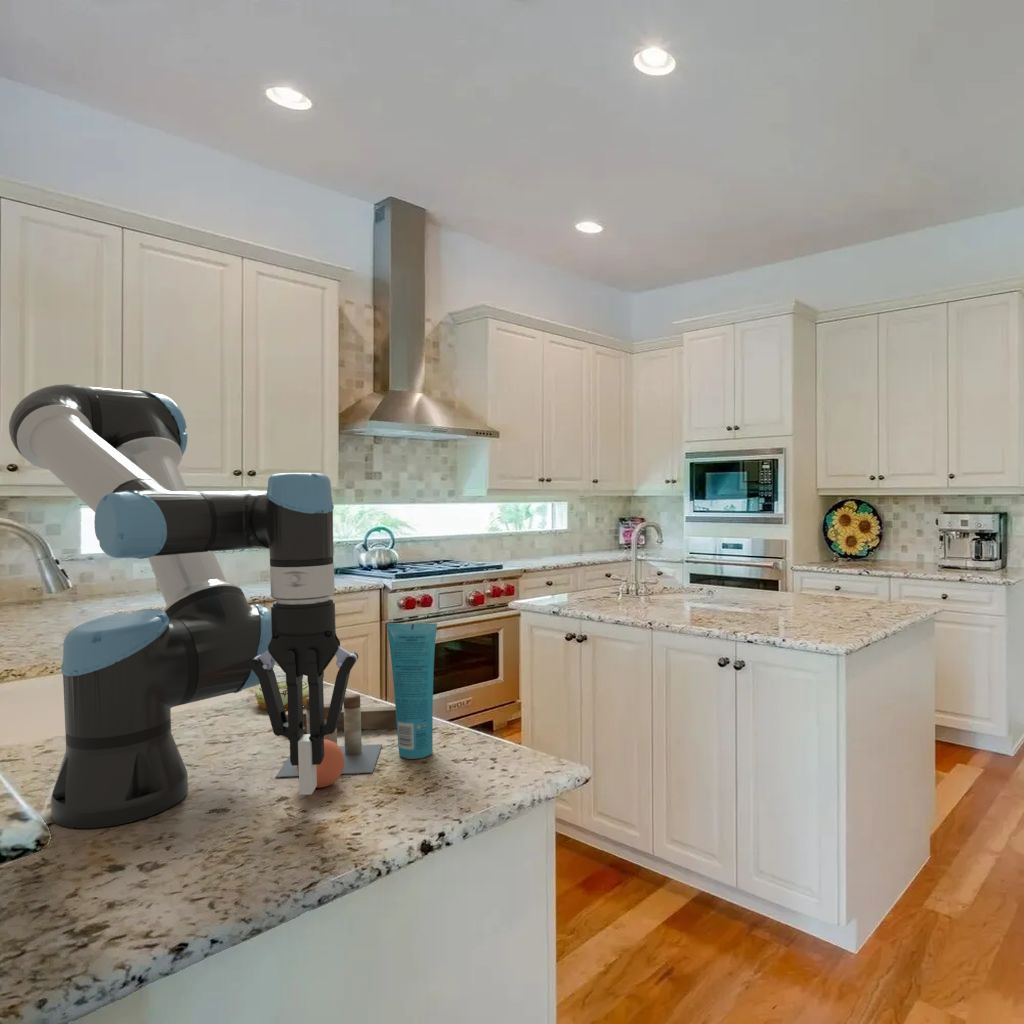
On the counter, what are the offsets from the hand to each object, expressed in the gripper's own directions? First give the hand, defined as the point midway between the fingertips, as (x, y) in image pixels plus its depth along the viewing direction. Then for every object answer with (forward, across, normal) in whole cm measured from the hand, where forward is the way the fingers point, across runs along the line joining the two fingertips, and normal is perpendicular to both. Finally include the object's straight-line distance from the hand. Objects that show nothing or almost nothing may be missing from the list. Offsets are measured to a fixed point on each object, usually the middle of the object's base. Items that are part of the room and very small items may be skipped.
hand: (308, 789), depth 88 cm
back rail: (+2, -1, +29) cm, 29 cm away
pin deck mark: (+2, 0, +15) cm, 15 cm away
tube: (+2, +12, +16) cm, 20 cm away
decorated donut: (+3, -15, +45) cm, 48 cm away
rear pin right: (+2, -3, +17) cm, 17 cm away
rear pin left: (+2, +2, +17) cm, 17 cm away
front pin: (+2, 0, +13) cm, 13 cm away
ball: (-1, 0, +6) cm, 6 cm away
